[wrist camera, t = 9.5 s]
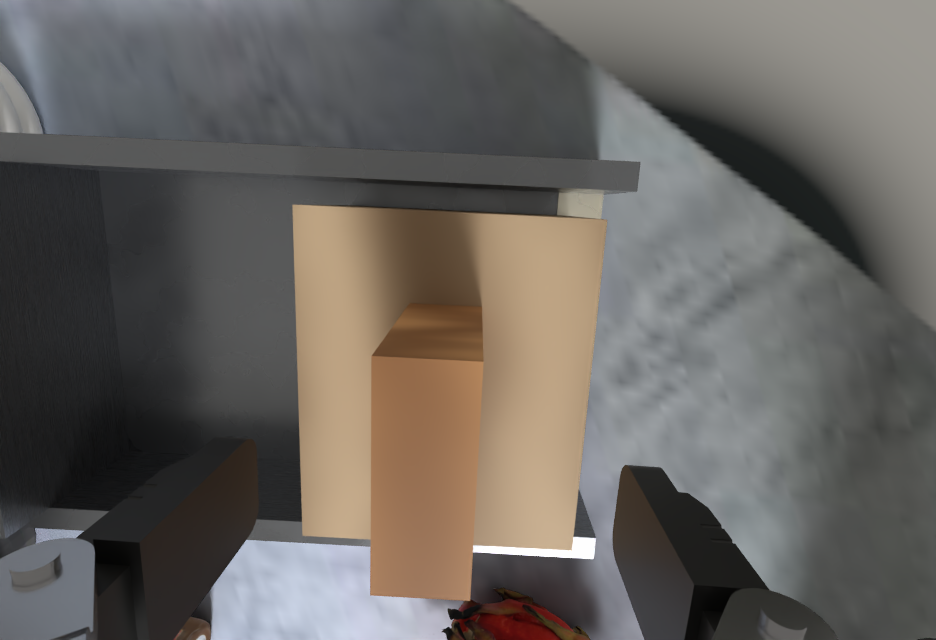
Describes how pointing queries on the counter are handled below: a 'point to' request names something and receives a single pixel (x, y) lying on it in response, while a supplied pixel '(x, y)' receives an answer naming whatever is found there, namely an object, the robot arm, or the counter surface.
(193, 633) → the tin
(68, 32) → the counter surface
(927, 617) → the counter surface
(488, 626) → the dragon fruit
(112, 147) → the bay
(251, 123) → the counter surface
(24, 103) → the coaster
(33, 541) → the beverage cup
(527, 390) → the wooden block with upright
